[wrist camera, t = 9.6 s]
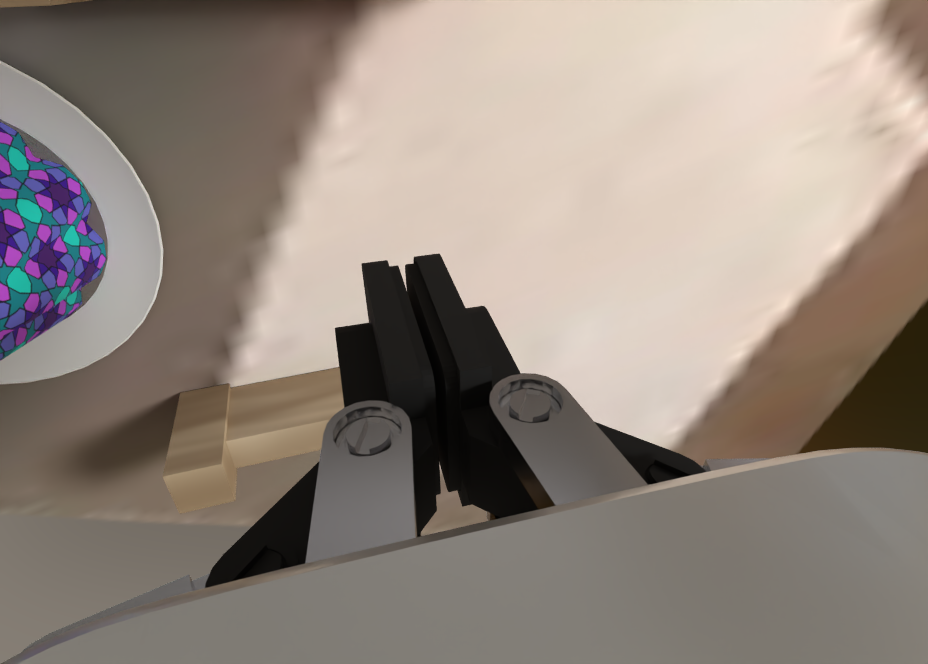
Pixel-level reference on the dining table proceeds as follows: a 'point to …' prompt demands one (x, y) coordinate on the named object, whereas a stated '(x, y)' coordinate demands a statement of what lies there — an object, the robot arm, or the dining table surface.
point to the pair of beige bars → (238, 420)
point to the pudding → (67, 238)
